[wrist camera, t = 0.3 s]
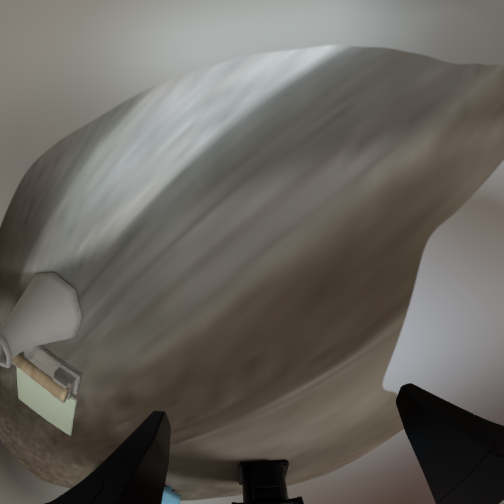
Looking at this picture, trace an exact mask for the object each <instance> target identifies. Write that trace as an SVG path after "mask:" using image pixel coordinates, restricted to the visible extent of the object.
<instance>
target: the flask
mask: <svg viewBox="0 0 504 504" xmlns="http://www.w3.org/2000/svg"><path fill="white" fill-rule="evenodd" d="M81 319H82V314H81V311H80V307H79V303H78V299H77V295H76V291H75V289H74V288H73V287H72V286H70V285H69V284H68V283H67V282H65V281H64V280H63V279H62V278H60V277H59V276H58V275H57V274H56V273H39V274H35V276H34V277H33V278H32V280H31V281H30V283H29V285H28V286H27V288H26V290H25V291H24V293H23V295H22V296H21V298H20V299H19V301H18V302H17V304H16V305H15V307H14V309H13V310H12V312H11V313H10V314H9V316H8V317H7V318H6V319H5V320H4V321H3V322H2V323H1V324H0V366H3V367H6V368H9V367H10V366H11V360H12V359H13V358H14V357H16V356H17V355H18V354H19V353H21V352H23V351H25V350H27V349H29V348H31V347H34V346H38V345H43V344H47V343H51V342H55V341H61V340H66V339H71V338H75V337H76V335H77V332H78V329H79V325H80V322H81Z"/></svg>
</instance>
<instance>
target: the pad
mask: <svg viewBox="0 0 504 504" xmlns="http://www.w3.org/2000/svg"><path fill="white" fill-rule="evenodd" d="M17 386H18V398H19V399H20V400H21V401H22V402H24V403H25V404H26V405H27V406H29V407H30V408H31V409H32V410H34V411H35V412H36V413H38V414H39V415H40V416H42V417H43V418H44V419H46V420H47V421H49V422H50V423H51V424H53V425H54V426H56V427H57V428H59V429H60V430H62V431H63V432H65V433H67V434H68V435H70V436H71V433H72V426H73V419H74V413H75V407H76V402H77V399H75V398H74V397H72V396H71V398H70V399H69V400H68V399H67V400H66V401H65V403H63V402H61V401H60V400H58V399H57V398H55V397H54V396H53V395H51V393H50V392H49V391H47V390H46V389H45V388H43V387H42V386H41V385H40V384H38V383H37V382H36V381H34V380H33V379H32V378H31V377H29V376H28V375H27V374H26V373H25V372H23V371H22V370H21V369H20V368H19V369H18V368H17Z"/></svg>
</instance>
